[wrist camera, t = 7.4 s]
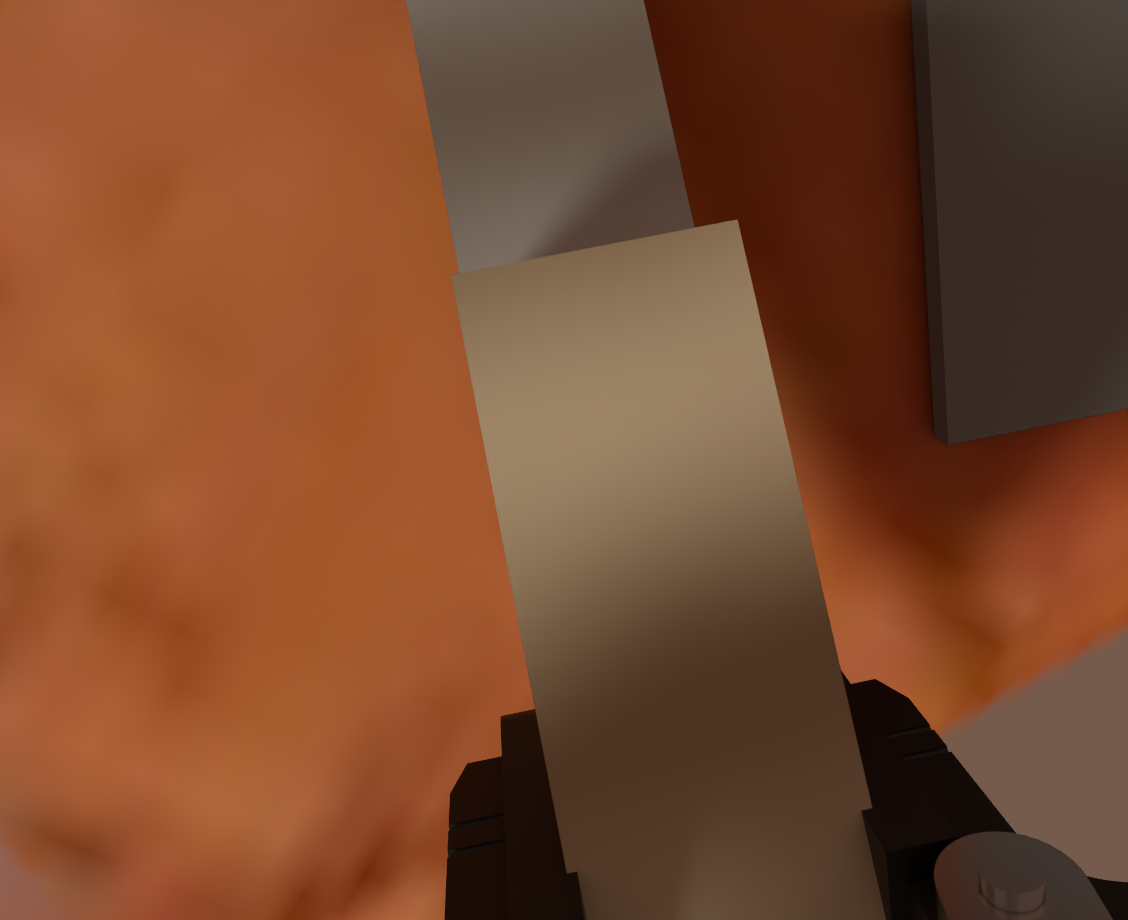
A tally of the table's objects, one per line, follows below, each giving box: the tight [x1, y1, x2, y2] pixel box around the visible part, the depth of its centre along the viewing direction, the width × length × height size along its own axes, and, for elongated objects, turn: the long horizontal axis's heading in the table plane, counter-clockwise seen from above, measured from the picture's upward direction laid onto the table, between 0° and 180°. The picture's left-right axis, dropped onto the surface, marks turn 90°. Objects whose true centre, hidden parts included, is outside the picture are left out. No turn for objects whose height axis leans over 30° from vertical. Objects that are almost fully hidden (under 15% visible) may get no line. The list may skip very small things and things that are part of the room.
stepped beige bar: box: [406, 0, 886, 920], centre depth 12 cm, size 15×3×5 cm, turn 11°
